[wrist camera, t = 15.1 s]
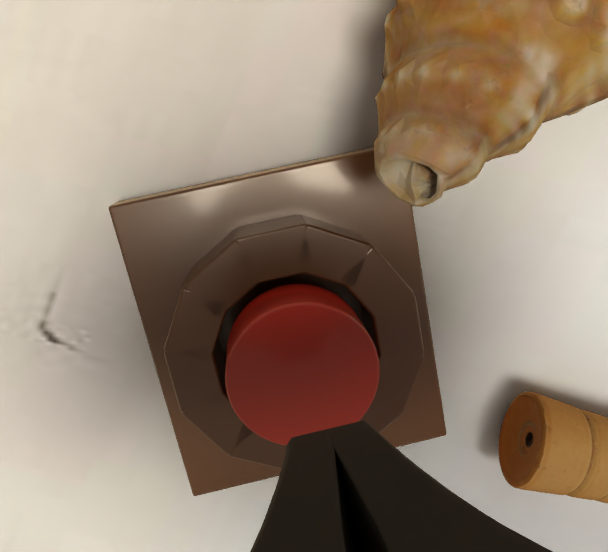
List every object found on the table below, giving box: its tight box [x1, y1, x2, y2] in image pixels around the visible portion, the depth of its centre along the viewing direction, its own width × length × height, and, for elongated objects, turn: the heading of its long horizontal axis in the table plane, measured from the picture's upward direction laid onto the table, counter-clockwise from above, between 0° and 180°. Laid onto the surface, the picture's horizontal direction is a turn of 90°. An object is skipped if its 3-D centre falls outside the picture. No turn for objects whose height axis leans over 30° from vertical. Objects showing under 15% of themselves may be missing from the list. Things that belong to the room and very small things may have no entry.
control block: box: [109, 147, 446, 496], centre depth 16 cm, size 9×8×3 cm
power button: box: [225, 284, 380, 445], centre depth 14 cm, size 4×4×2 cm
